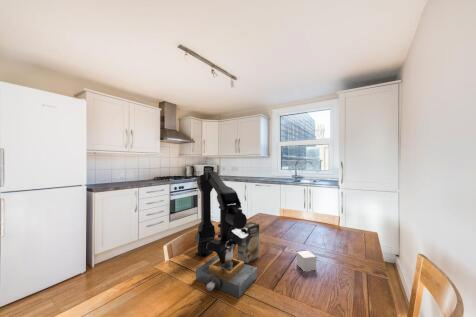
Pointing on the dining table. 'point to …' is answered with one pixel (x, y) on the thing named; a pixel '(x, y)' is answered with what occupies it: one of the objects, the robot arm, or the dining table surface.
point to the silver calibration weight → (228, 257)
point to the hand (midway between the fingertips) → (226, 260)
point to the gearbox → (227, 276)
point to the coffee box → (250, 244)
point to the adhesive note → (306, 260)
